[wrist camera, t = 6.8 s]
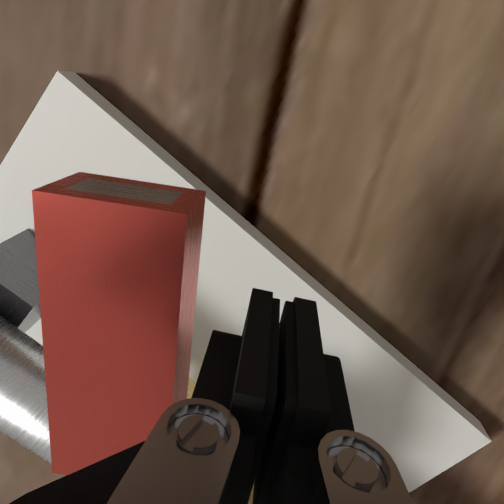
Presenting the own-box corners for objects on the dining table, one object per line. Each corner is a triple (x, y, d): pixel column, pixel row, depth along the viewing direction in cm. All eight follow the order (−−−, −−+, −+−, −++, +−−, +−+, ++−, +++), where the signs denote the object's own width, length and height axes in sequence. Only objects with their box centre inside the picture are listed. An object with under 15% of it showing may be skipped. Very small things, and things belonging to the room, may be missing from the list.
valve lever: (205, 191, 9) (187, 213, 7) (168, 597, 14) (152, 663, 13) (80, 171, 9) (32, 189, 7) (90, 583, 14) (64, 648, 13)
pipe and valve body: (396, 492, 24) (455, 707, 16) (328, 535, 26) (348, 748, 17) (-1, 188, 19) (-227, 265, 11) (-50, 268, 21) (-277, 388, 12)
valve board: (479, 420, 23) (491, 441, 22) (269, 556, 29) (269, 580, 28) (75, 72, 18) (57, 70, 17) (-82, 323, 24) (-104, 337, 23)
